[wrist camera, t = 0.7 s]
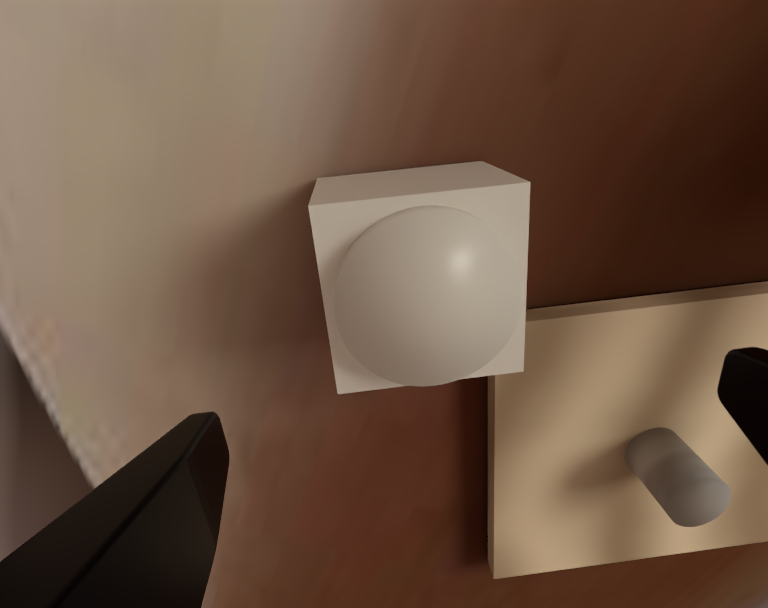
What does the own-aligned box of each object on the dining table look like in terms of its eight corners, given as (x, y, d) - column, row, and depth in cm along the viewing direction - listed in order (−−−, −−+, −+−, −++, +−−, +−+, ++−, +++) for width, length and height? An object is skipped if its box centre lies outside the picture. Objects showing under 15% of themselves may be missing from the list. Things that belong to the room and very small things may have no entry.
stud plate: (831, 273, 19) (949, 315, 15) (751, 524, 24) (823, 599, 21) (487, 314, 18) (524, 367, 15) (487, 560, 24) (513, 644, 20)
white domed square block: (481, 160, 16) (539, 186, 11) (482, 309, 18) (531, 382, 13) (317, 178, 16) (306, 211, 11) (338, 326, 18) (337, 406, 13)
